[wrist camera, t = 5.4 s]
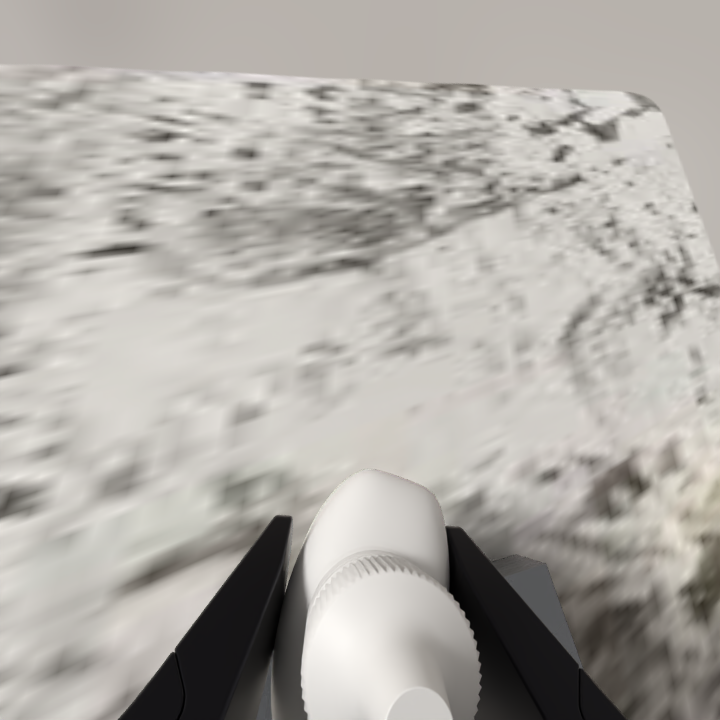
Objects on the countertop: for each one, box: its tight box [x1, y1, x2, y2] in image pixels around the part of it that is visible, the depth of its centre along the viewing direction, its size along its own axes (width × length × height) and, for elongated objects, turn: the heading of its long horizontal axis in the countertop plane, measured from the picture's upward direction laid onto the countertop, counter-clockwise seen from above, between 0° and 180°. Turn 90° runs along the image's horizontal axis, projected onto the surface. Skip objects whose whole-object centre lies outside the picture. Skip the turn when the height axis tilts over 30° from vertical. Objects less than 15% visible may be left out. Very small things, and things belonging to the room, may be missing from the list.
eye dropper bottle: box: [271, 469, 482, 720], centre depth 9 cm, size 4×6×12 cm
